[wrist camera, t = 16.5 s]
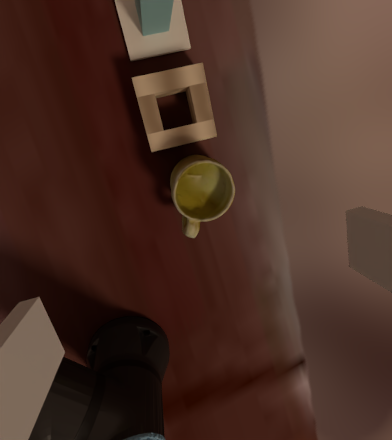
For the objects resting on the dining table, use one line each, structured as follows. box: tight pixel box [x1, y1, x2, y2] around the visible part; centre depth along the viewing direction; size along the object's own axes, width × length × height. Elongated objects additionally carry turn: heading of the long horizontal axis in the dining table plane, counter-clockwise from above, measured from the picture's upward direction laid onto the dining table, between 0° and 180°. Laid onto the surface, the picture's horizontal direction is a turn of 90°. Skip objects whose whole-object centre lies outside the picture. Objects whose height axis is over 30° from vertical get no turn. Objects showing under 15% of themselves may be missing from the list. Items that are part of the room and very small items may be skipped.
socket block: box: [132, 63, 217, 152], centre depth 40 cm, size 10×10×4 cm
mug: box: [170, 155, 235, 238], centre depth 42 cm, size 12×10×10 cm
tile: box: [115, 0, 191, 61], centre depth 38 cm, size 9×9×1 cm
